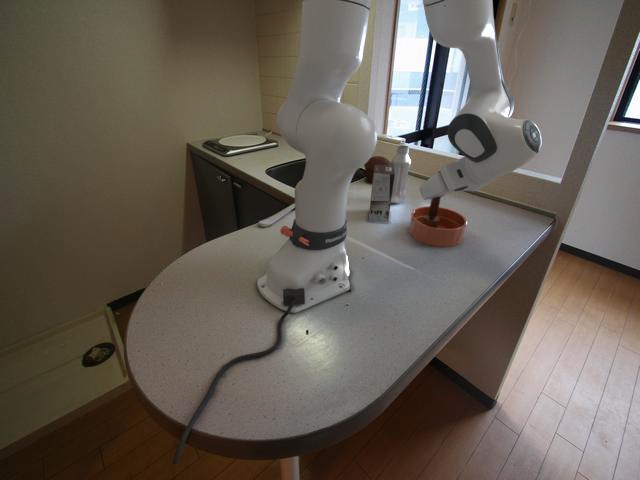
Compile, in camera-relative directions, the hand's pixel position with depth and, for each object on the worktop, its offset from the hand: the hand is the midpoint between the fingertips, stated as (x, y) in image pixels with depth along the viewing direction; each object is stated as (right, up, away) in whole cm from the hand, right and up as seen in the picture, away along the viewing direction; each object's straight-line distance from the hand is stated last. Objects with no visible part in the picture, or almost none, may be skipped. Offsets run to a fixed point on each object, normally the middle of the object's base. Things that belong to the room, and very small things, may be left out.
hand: (434, 195), depth 90 cm
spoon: (-41, -2, +19) cm, 45 cm away
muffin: (-9, +12, +44) cm, 46 cm away
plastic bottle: (-5, +1, +25) cm, 25 cm away
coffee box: (-13, -5, +14) cm, 20 cm away
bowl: (+1, -11, +4) cm, 12 cm away
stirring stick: (0, -9, +5) cm, 10 cm away
